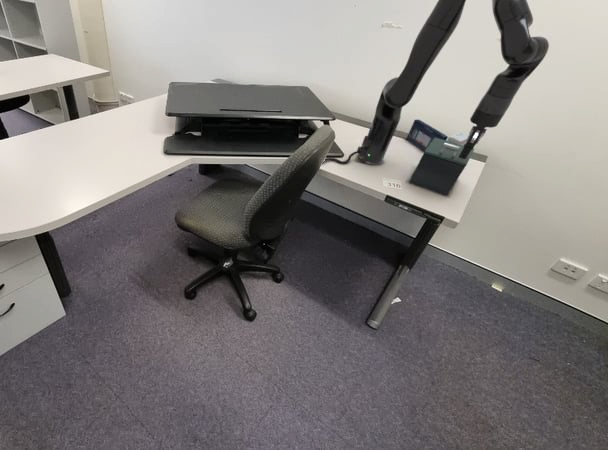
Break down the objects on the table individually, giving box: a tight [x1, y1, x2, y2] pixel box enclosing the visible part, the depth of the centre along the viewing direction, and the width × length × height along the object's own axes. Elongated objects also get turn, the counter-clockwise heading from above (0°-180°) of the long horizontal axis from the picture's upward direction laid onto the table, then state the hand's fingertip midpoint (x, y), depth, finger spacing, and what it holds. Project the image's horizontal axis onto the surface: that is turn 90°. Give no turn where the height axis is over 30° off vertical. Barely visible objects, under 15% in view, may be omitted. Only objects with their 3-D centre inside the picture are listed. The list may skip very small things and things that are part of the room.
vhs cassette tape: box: [405, 119, 449, 153], centre depth 148 cm, size 18×3×10 cm, turn 11°
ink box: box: [446, 131, 469, 146], centre depth 139 cm, size 8×5×12 cm, turn 123°
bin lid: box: [423, 138, 475, 167], centre depth 120 cm, size 16×14×5 cm
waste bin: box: [408, 152, 466, 197], centre depth 126 cm, size 16×14×13 cm
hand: (462, 157), depth 114 cm, fingers closed
